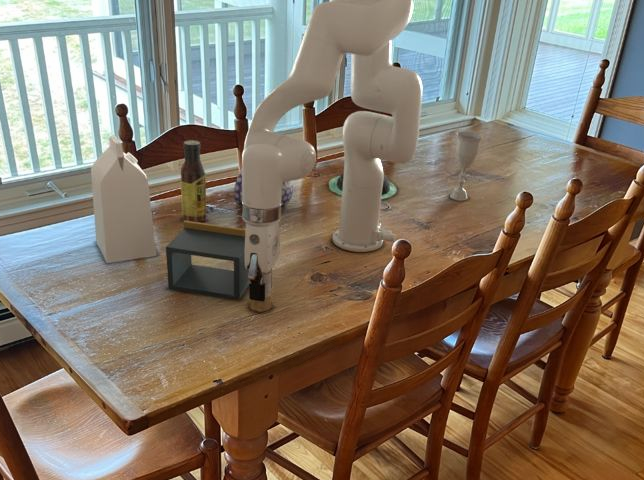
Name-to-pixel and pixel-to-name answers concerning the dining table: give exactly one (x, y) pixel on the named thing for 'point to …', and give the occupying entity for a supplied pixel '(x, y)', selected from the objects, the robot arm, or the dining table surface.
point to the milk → (121, 206)
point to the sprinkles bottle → (266, 303)
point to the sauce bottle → (193, 184)
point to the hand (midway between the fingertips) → (260, 293)
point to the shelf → (212, 245)
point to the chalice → (465, 158)
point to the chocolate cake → (387, 188)
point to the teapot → (285, 195)
